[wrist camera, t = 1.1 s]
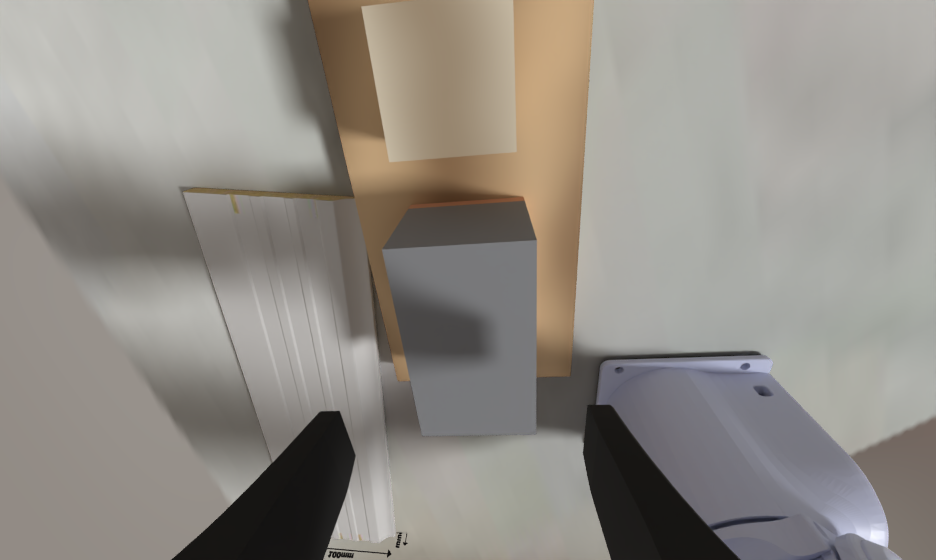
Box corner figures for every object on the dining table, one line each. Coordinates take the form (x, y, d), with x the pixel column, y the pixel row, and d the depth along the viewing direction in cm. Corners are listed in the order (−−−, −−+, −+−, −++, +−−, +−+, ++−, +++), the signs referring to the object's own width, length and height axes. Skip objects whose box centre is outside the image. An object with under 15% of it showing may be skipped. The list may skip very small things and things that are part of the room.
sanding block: (523, 196, 16) (536, 239, 11) (525, 357, 20) (536, 434, 16) (410, 204, 16) (381, 249, 12) (436, 360, 20) (422, 436, 16)
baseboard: (396, 195, 18) (202, 184, 19) (381, 213, 16) (157, 199, 16) (413, 527, 33) (304, 518, 33) (406, 564, 30) (288, 553, 30)
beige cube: (506, 16, 13) (512, -12, 9) (510, 136, 15) (516, 152, 11) (396, 28, 13) (361, 6, 10) (412, 145, 15) (389, 162, 11)
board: (593, -180, 12) (607, -215, 10) (565, 358, 22) (570, 376, 20) (293, -133, 12) (269, -159, 11) (403, 364, 23) (397, 381, 21)
